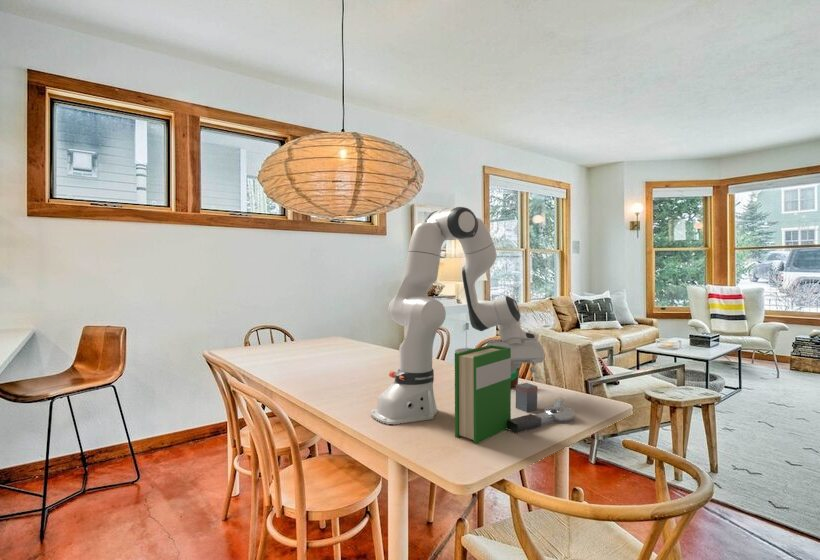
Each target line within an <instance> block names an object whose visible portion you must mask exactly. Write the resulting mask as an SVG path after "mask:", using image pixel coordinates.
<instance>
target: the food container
mask: <svg viewBox="0 0 820 560" xmlns="http://www.w3.org/2000/svg"><path fill="white" fill-rule="evenodd" d="M520 368H522V363H511V389H516V385H518V383H519V377H520Z"/></svg>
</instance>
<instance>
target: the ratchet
mask: <svg viewBox="0 0 820 560" xmlns="http://www.w3.org/2000/svg"><path fill="white" fill-rule="evenodd" d="M564 400H565V399H563V398H559V397H557V398H554V405H549V406H545V407H544V408H543V409H544V411H543V412H540V413H536V414H531V413H529V414H525V415H521V416H518V417H513V418H511V419H510V420H507V429H506V430H509V431H511V432H514V433H515V434H520V433H523V432H527V431H529V430H530V431H531V430H535V429H537V428H541V427H543V426H546V425H551V424H553V423H559V424H568V423H569V422H570V423H572V422H574V421H575V410H574V409H572V408H570V407H567V406H565V401H564ZM570 423H569V424H570Z"/></svg>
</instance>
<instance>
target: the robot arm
mask: <svg viewBox="0 0 820 560" xmlns="http://www.w3.org/2000/svg"><path fill="white" fill-rule="evenodd" d="M455 240H457V241H458V242H459V243H460V244H461V248H462V251H463V254H464V258H465V263H464V265H463V266H462V268H461V276H462V283H463V289H464V290H463V291H464V294H465V299H466V304H467V309H468V321H469V324H470V326H471V327H472V328H473V329H474V330H476V331H479V332H484V331H486V330H488V329H490V328H494V327H497V329H498V331H499V332H498V333H499V334H498V336H499V339H496V340H495V339H494V340H492V339H491V340H489V341H487V342H486V343H485V346H488V345H493V346H500V347H507V348H511V363H521V364H531V365H532V366H531V365H530V367H529V371H530V373H532V374H534V373H536V372H537V369H536V365H537V364H542V363H543V362H544V360H545V358H546V354H545V351H544V347H543V346H542V343H541V342H540V341H538V335H537V334H536V333H535V334H534V333H531V332H528V331H525V330H523V328H522V327H521V320H520V319H521V313H520V309H519V306H518V303H517V302H516V300H515V298H512V297H510V296H508V295H505V296H501V297H497V298H495V299H492V300H490V301H486V302H479V301H478V295H477V290H476V282H477V280H479V278H480V277H482V276H483V275H484V274H486V273H487V272H488V271H489V270H490V269H491V268H492V267H493V266H494V264H495V262H496V260H497V251H496V248H495V247H496V246H495V244H494V241H493V238H492V236H491V234H490V232H489V230H488V228H487V226H486V224H485V223H484V221H483V220H482V219H481V218H479V217H477V216H476V215H475V213H474V212H473V211H472V210H471V209H469V208H467V207H465V206H456V207H451V208H450V207H448V208H447V207H446V208H443V209H440V210H436V211H435V210H434V211H433V212H431V213H429V214H428V215H427V216H426V218H425V219H424V221H422V222H419V223H417V224H416V225H415V226H414V229H413V231H412V234H411V237H410V240H409V244H408V250H407V256H406V262H405V267H404V268H405V269H404V272H403V277H402V280H401V282H400V285H399V287H398V289H397V292H396V293H395V296H394V297H393V298H392V299H391V300H390V302H389V304H388V308H387V312H388V316H389V318H390V319H391V320H392V321H394V322H395V323H396V324H398V325H400V326H402V327H406V331H405V337H404V339H403V341H402V343H400V344H399V347H398V348H399V349H398V351H399V352H398V353H399V354H398V356H399V357H398V358H399V363H398V365H399V368H398V370H397V372H396V371H394V370H390V371H389V373H388V376H389V377H390V378H393V379H394V381H393V383H391V384H390V385H389V386H388V387H387V388H386V389H385V390H384V391H382V392H381V393H380V394H379V396H378V398H377V405H376V406H377V407H376V408H374V409H371V410H370V413H371V415H370V417H371V418H372V417H373V418H372V419H374V418H375V419H376V420H375V419H374V420H375V421H377V420H378V421H377V422H379V421H380V422H379V423H381V422H383V423H382V424H384V423H386V424H385V425H389V424H393V425H400V423H401V424H407V423H413V422H414V423H415V422H421V421H422V422H423V421H428V420H434V419H435V415H436V414H437V413H438V409H437V403H436V400H435V394H434V381H435V380H434V379H435V377H434V376H435V375H434V372H435V371H434V368H433V350H434V349H433V347H434V342H435V338H436V334H437V331H438V330H439V329H440V328H441V327H442V326H443V324H444V323H445V320H446V314H447V311H446V307H445V306H444V304H443V303H442V301H440V300H438V299H435V298H433V297H431V296H427V295H428V292H429V291H430V289H431V287H432V286H433V285H434V284H435V282H437V279H438V275H439V269H440V268H439V267H440V262H441V254H442V246H443V244H444V243H445V241H455Z"/></svg>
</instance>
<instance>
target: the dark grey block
mask: <svg viewBox="0 0 820 560" xmlns="http://www.w3.org/2000/svg"><path fill="white" fill-rule="evenodd" d="M515 409H517V410H520V411H522V412H525V413H529V411H530V412H533V410H534V411H537V410H538V386H537V385H534V384H531V383H528V382H523V383H519V384H518V385H516V387H515ZM536 409H537V410H536Z"/></svg>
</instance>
